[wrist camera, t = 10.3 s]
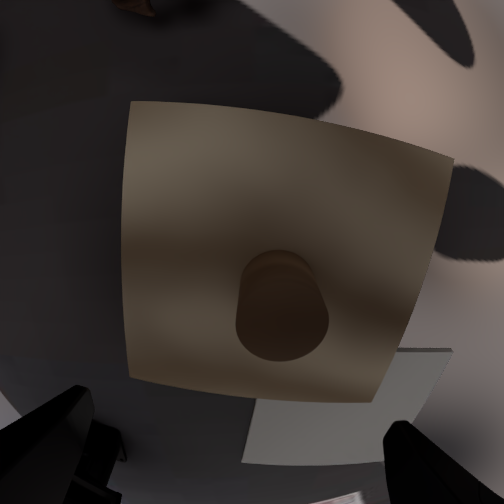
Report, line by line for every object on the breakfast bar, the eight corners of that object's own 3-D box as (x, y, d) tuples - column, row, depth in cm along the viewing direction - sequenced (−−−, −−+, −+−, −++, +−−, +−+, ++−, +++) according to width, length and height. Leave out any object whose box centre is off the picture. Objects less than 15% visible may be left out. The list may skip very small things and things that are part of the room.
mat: (382, 456, 27) (384, 460, 27) (241, 458, 27) (241, 462, 26) (450, 348, 22) (453, 351, 21) (269, 338, 21) (269, 343, 21)
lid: (363, 381, 18) (385, 442, 13) (139, 356, 17) (110, 417, 13) (432, 155, 13) (498, 167, 8) (147, 105, 13) (94, 91, 8)
